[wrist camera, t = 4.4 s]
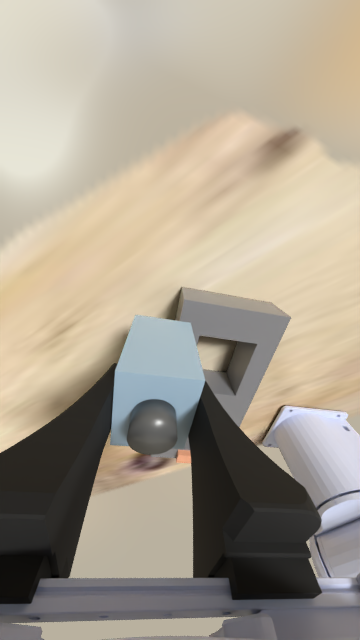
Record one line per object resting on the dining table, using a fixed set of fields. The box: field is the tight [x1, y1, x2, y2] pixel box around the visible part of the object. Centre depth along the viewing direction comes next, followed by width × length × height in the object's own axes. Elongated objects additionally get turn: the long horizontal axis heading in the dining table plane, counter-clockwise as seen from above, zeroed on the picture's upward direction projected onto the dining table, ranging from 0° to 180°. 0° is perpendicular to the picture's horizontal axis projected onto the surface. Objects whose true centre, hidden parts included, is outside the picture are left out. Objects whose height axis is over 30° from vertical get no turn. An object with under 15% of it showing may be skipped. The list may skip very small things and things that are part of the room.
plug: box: [110, 315, 205, 455], centre depth 12 cm, size 4×5×7 cm
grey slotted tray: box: [151, 287, 291, 463], centre depth 21 cm, size 9×20×4 cm, turn 169°
